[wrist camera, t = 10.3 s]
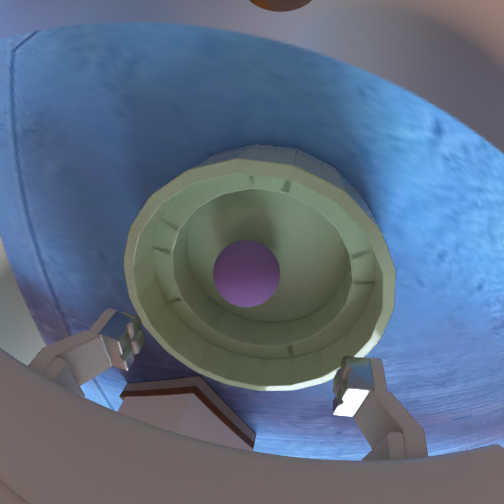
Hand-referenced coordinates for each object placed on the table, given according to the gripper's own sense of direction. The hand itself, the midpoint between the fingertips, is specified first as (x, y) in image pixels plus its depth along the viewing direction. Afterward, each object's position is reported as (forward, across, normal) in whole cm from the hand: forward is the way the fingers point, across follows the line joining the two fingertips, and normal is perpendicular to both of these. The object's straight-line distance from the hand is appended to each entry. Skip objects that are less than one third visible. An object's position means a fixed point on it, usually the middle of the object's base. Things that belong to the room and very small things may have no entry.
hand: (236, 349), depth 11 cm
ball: (+6, +1, 0) cm, 6 cm away
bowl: (+8, 0, 0) cm, 8 cm away
